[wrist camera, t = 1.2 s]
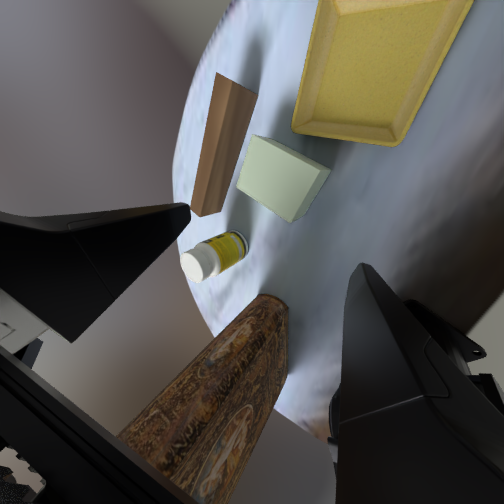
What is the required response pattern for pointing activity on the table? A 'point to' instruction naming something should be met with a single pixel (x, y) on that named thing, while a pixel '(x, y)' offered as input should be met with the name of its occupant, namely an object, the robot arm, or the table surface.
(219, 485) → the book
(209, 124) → the board
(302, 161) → the block
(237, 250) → the supplement bottle
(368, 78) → the yellow tray
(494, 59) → the table surface
